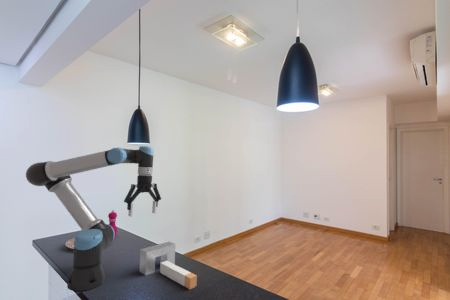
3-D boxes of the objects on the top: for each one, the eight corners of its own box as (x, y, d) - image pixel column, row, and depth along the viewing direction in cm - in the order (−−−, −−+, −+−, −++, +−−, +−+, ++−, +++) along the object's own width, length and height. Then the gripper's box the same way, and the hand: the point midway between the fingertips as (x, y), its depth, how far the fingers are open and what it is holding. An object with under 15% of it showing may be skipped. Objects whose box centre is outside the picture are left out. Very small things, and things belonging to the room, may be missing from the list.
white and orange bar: (196, 286, 114) (196, 275, 115) (189, 289, 111) (190, 278, 112) (166, 270, 130) (166, 260, 131) (160, 272, 127) (160, 262, 128)
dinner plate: (119, 240, 176) (119, 235, 177) (95, 254, 149) (96, 249, 149) (83, 238, 179) (84, 233, 179) (54, 251, 152) (54, 246, 152)
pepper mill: (118, 235, 186) (119, 209, 187) (114, 238, 179) (115, 211, 180) (108, 235, 186) (110, 209, 187) (104, 238, 179) (105, 211, 180)
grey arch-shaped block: (174, 264, 137) (175, 244, 138) (145, 275, 124) (146, 252, 124) (168, 261, 141) (169, 241, 142) (139, 271, 128) (140, 249, 128)
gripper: (125, 175, 121) (122, 219, 120) (168, 175, 139) (166, 213, 138) (118, 174, 126) (116, 216, 125) (161, 174, 144) (159, 210, 143)
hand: (142, 214), depth 131 cm, fingers open, 13 cm apart
